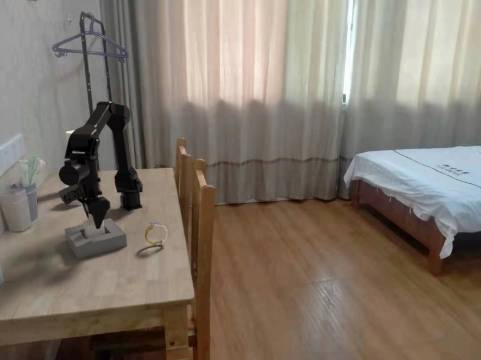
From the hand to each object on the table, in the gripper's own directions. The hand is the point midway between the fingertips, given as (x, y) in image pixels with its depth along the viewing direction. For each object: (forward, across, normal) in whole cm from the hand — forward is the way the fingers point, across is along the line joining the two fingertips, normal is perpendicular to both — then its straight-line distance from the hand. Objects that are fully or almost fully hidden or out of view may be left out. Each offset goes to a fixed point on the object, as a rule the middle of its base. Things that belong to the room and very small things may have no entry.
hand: (93, 223), depth 120 cm
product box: (+7, -39, +4) cm, 40 cm away
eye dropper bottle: (+7, 0, 0) cm, 7 cm away
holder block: (+7, 0, 0) cm, 7 cm away
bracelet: (+7, +12, +15) cm, 20 cm away
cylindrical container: (+7, -55, +10) cm, 56 cm away
